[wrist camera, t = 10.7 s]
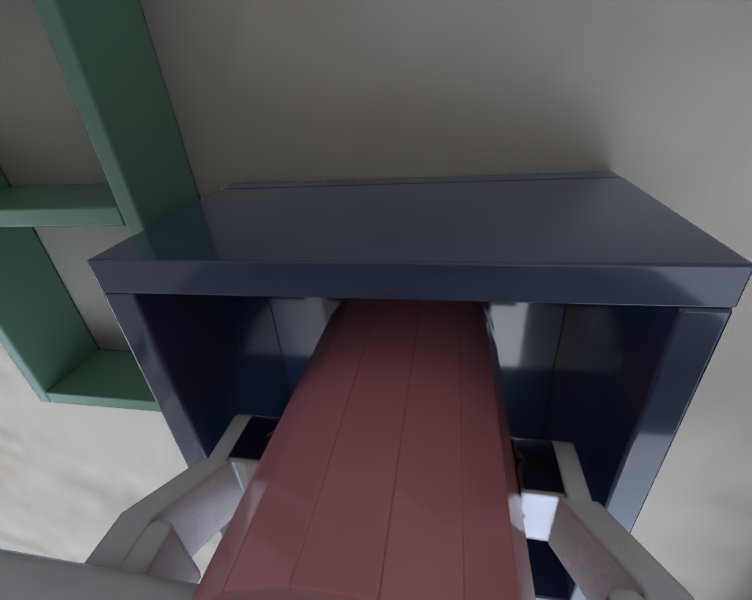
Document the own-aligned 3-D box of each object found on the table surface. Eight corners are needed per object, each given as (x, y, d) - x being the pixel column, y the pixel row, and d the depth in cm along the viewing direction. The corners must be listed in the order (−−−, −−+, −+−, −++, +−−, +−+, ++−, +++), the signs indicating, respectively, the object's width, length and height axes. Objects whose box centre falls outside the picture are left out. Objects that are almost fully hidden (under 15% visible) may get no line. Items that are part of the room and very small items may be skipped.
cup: (318, 271, 14) (128, 560, 6) (501, 273, 13) (585, 637, 5) (339, 399, 17) (236, 703, 9) (488, 410, 16) (523, 770, 8)
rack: (-156, -91, 11) (-336, -136, 9) (96, -145, 10) (-32, -220, 7) (94, 358, 19) (40, 401, 17) (251, 367, 18) (218, 417, 15)
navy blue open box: (230, 183, 13) (84, 260, 8) (614, 170, 11) (757, 264, 6) (293, 426, 20) (233, 561, 14) (549, 449, 17) (592, 619, 12)
